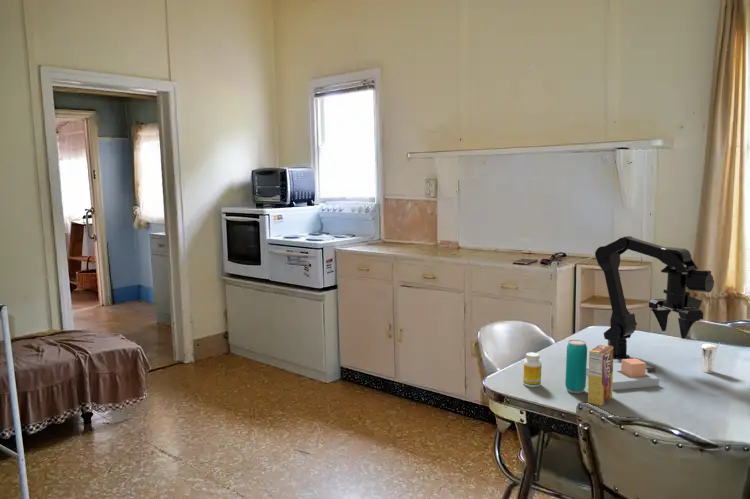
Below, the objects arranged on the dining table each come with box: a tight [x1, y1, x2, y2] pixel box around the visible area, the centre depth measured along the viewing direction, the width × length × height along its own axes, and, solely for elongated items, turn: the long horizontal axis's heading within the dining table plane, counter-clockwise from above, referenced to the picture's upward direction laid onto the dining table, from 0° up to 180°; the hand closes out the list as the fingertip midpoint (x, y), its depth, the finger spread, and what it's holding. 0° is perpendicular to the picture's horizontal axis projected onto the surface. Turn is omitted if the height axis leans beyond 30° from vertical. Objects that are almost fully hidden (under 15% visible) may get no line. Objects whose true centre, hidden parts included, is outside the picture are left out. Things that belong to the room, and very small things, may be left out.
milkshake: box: [700, 342, 721, 374], centre depth 198 cm, size 4×5×10 cm
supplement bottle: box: [522, 351, 542, 388], centre depth 186 cm, size 5×5×10 cm
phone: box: [620, 359, 656, 373], centre depth 203 cm, size 10×6×1 cm, turn 13°
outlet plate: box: [586, 362, 660, 391], centre depth 191 cm, size 16×16×2 cm
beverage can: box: [564, 339, 588, 395], centre depth 180 cm, size 6×6×15 cm
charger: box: [620, 358, 647, 378], centre depth 189 cm, size 5×5×6 cm
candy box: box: [587, 343, 614, 407], centre depth 173 cm, size 9×4×15 cm, turn 140°
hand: (673, 334), depth 199 cm, fingers open, 9 cm apart
